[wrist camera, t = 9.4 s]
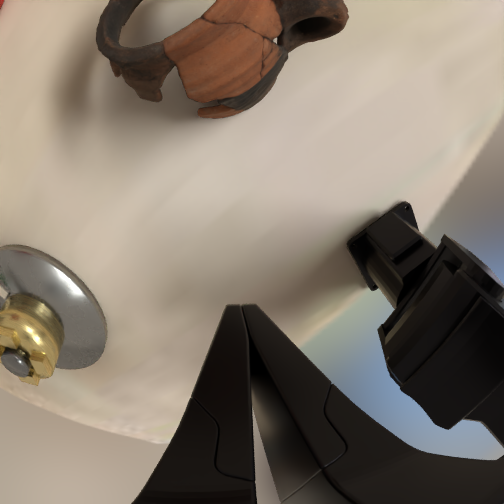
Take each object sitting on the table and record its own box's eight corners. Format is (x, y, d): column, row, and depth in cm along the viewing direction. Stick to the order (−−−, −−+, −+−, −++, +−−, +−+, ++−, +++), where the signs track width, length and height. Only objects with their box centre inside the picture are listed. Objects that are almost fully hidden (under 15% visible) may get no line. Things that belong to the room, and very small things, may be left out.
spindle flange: (123, 367, 26) (115, 422, 21) (16, 354, 24) (-1, 398, 18) (84, 242, 19) (49, 303, 13) (-36, 246, 16) (-73, 289, 10)
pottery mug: (174, 148, 17) (81, 122, 9) (155, 40, 16) (87, -11, 8) (363, 98, 14) (392, 20, 6) (314, -10, 13) (301, -93, 5)
